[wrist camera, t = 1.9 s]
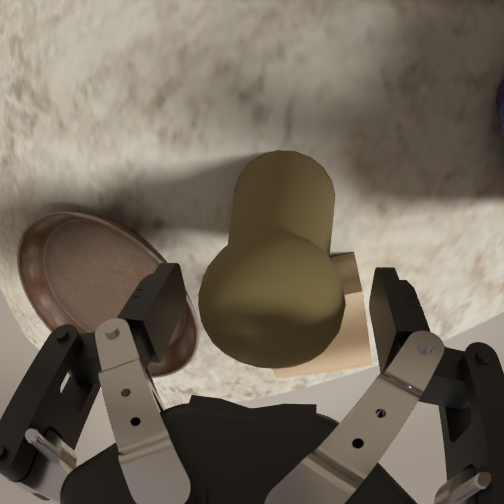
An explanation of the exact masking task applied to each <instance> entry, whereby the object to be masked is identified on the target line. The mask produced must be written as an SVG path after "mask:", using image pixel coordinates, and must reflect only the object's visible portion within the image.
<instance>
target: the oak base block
mask: <svg viewBox="0 0 504 504" xmlns="http://www.w3.org/2000/svg"><path fill="white" fill-rule="evenodd" d="M329 258H330V260H331V261H332V263H333V264H334V266H335V267H336V269H337V270H338V272H339V274H340V275H341V279H342V284H343V290H344V295H345V301H346V307H345V311H344V316H343V320H342V324H341V328H340V332H339V333H338V334H337V336H336V337H335V338H334V340H333V341H332V342H331V344H330V345H329V346H328V347H327V349H326V350H325V351H324V352H323V353H322V354H320V355H319V356H317V357H316V358H314V359H313V360H311V361H310V362H307V363H304V364H301V365H298V366H295V367H289V368H279V369H272V370H273V372H274V374H275V376H276V378H286V377H295V376H303V375H311V374H318V373H325V372H332V371H339V370H345V369H351V368H357V367H362V366H368V365H372V363H371V353H370V344H369V336H368V328H367V320H366V313H365V306H364V299H363V293H362V288H361V283H360V278H359V273H358V269H357V264H356V260H355V255H354V252H353V253H348V254H344V255H339V256H334V257H329Z"/></svg>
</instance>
